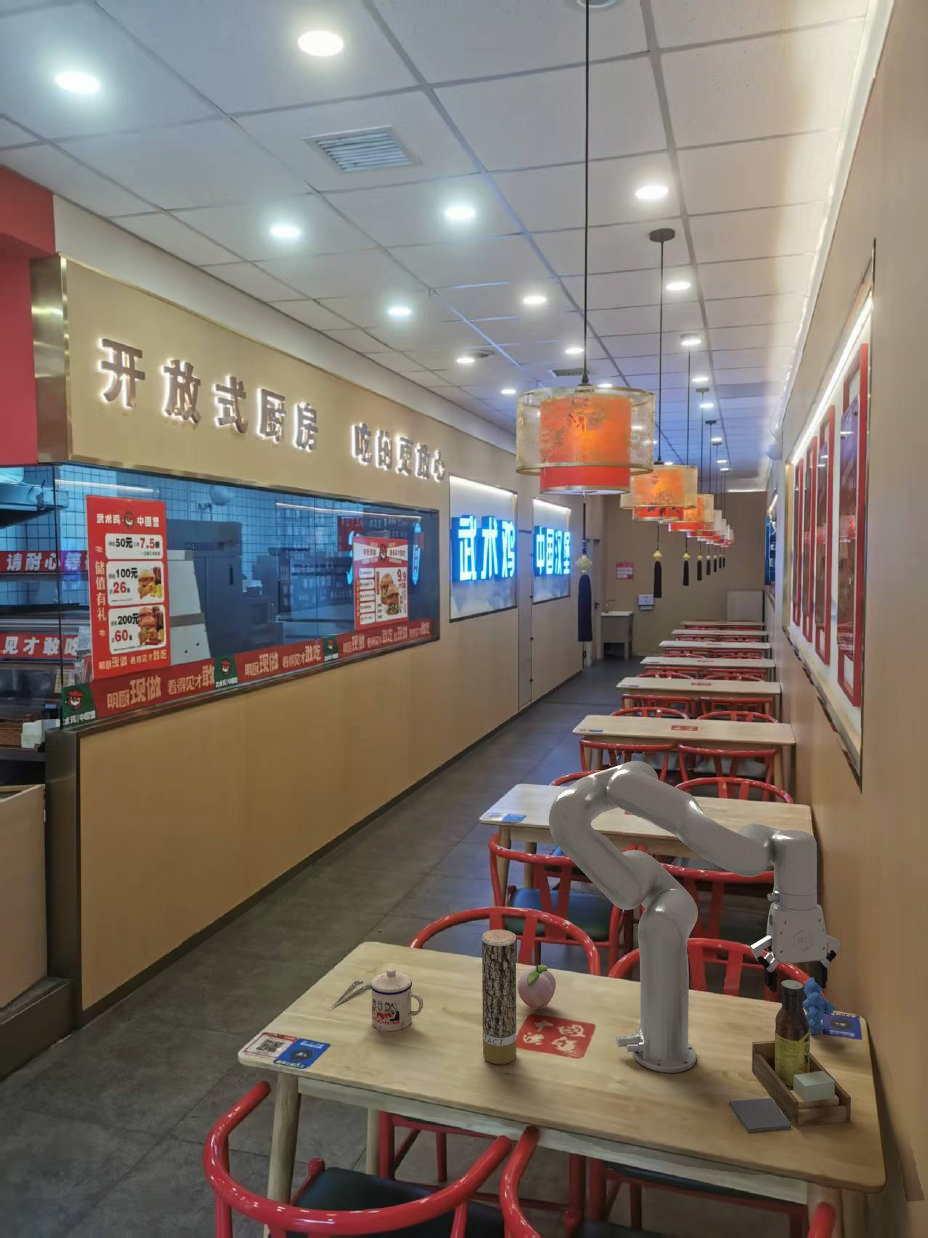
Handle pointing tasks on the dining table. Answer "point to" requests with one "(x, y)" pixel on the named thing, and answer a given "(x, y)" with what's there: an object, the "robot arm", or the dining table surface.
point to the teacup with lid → (393, 1000)
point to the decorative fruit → (536, 987)
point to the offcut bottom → (816, 1102)
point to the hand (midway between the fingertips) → (795, 987)
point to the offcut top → (814, 1086)
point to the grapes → (815, 1006)
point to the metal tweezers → (352, 993)
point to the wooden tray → (786, 1100)
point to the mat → (759, 1115)
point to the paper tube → (499, 996)
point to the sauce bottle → (792, 1035)
